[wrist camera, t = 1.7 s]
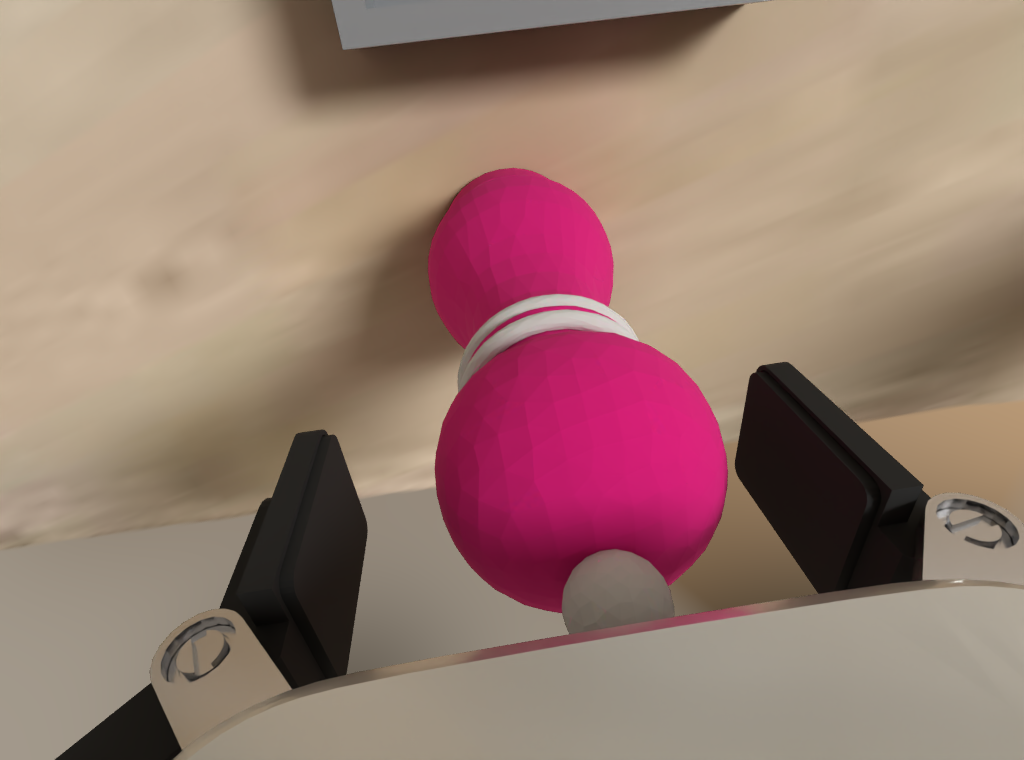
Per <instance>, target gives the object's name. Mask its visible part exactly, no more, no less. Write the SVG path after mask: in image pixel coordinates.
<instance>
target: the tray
mask: <svg viewBox="0 0 1024 760" xmlns="http://www.w3.org/2000/svg"><path fill="white" fill-rule="evenodd" d="M764 1H772V0H332V5H333V9H334V13H335V18H336V22H337V26H338V31H339V35H340V39H341V44H342V48H343V50H348V49H362V48H370V47H379V46H387V45H396V44H405V43H413V42H422V41H431V40H439V39H448V38H456V37H465V36H474V35H482V34H491V33H500V32H508V31H517V30H525V29H534V28H543V27H551V26H560V25H569V24H577V23H586V22H594V21H603V20H612V19H620V18H629V17H638V16H646V15H655V14H663V13H672V12H681V11H689V10H698V9H707V8H715V7H724V6H732V5H741V4H749V3H757V2H764Z"/></svg>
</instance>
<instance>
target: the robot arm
mask: <svg viewBox="0 0 1024 760" xmlns="http://www.w3.org/2000/svg"><path fill="white" fill-rule="evenodd" d="M735 469H736V473H737V475H738V477H739V479H740V480H741V482H742V483H743V485H744V486H745V488H746V489H747V491H748V492H749V494H750V495H751V496H752V498H753V499H754V501H755V502H756V504H757V505H758V507H759V508H760V510H761V511H762V512H763V514H764V515H765V517H766V518H767V520H768V521H769V523H770V524H771V525H772V527H773V528H774V530H775V531H776V533H777V534H778V536H779V537H780V539H781V540H782V541H783V543H784V544H785V546H786V547H787V549H788V550H789V551H790V553H791V554H792V556H793V557H794V559H795V560H796V562H797V563H798V565H799V566H800V568H801V569H802V570H803V572H804V573H805V575H806V576H807V578H808V579H809V581H810V582H811V584H812V585H813V587H814V588H815V589H816V591H817V592H818V594H814V595H808V596H802V597H796V598H789V599H783V600H777V601H771V602H764V603H758V604H752V605H746V606H739V607H733V608H727V609H721V610H714V611H708V612H702V613H696V614H690V615H684V616H678V617H672V618H666V619H660V620H653V621H647V622H641V623H635V624H629V625H623V626H617V627H611V628H605V629H599V630H593V631H587V632H581V633H575V634H569V635H563V636H557V637H551V638H546V639H540V640H535V641H528V642H522V643H516V644H511V645H505V646H499V647H493V648H487V649H481V650H476V651H470V652H464V653H458V654H453V655H447V656H441V657H435V658H430V659H425V660H419V661H414V662H409V663H403V664H398V665H393V666H387V667H382V668H377V669H372V670H366V671H361V672H356V673H352V674H347V675H346V673H347V667H348V660H349V653H350V647H351V641H352V634H353V627H354V620H355V614H356V607H357V600H358V593H359V587H360V581H361V574H362V567H363V561H364V554H365V547H366V541H367V522H366V518H365V515H364V512H363V510H362V507H361V504H360V501H359V498H358V495H357V493H356V490H355V487H354V484H353V481H352V479H351V476H350V473H349V470H348V467H347V465H346V462H345V459H344V456H343V453H342V451H341V448H340V445H339V442H338V439H337V437H336V436H335V435H328V434H327V432H326V431H325V430H316V431H309V432H302V433H298V434H296V436H295V437H294V440H293V443H292V446H291V448H290V451H289V454H288V456H287V459H286V462H285V464H284V467H283V470H282V472H281V475H280V478H279V480H278V483H277V486H276V488H275V491H274V494H273V496H272V498H266V499H265V500H264V501H262V503H261V505H260V507H259V509H258V512H257V514H256V517H255V519H254V522H253V524H252V527H251V529H250V532H249V534H248V537H247V540H246V542H245V545H244V547H243V550H242V552H241V555H240V557H239V560H238V562H237V565H236V568H235V570H234V573H233V575H232V578H231V580H230V583H229V585H228V588H227V590H226V593H225V596H224V598H223V601H222V603H221V606H220V608H219V609H213V610H209V611H206V612H203V613H200V614H198V615H196V616H194V617H192V618H191V619H189V620H187V621H185V622H184V623H182V624H181V625H180V626H179V627H177V628H176V629H175V630H174V631H173V632H171V633H170V634H169V636H168V637H167V638H166V639H165V641H163V643H162V644H161V645H160V646H159V648H158V650H157V652H156V654H155V656H154V657H153V660H152V664H151V668H150V678H151V683H150V684H149V685H148V686H146V687H145V688H144V689H143V690H142V691H140V692H139V693H138V694H136V695H135V696H134V697H133V698H131V699H130V700H129V701H128V702H126V703H125V704H124V705H123V706H121V707H120V708H119V709H118V710H116V711H115V712H114V713H113V714H111V715H110V716H109V717H108V718H106V719H105V720H104V721H103V722H101V723H100V724H99V725H98V726H96V727H95V728H94V729H93V730H91V731H90V732H89V733H88V734H86V735H85V736H84V737H83V738H81V739H80V740H79V741H78V742H76V743H75V744H74V745H73V746H71V747H70V748H69V749H68V750H66V751H65V752H64V753H63V754H61V755H60V756H59V757H58V758H56V759H55V760H1024V524H1023V523H1022V522H1021V521H1020V520H1019V519H1018V518H1017V517H1016V516H1014V515H1013V514H1011V513H1010V512H1009V511H1007V510H1006V509H1004V508H1002V507H1001V506H999V505H997V504H995V503H993V502H991V501H988V500H985V499H982V498H979V497H977V496H973V495H968V494H962V493H943V494H939V495H935V496H934V497H932V498H930V497H929V496H928V495H927V494H926V493H925V492H924V491H923V490H922V488H923V484H922V483H921V482H919V481H918V480H917V479H916V478H915V477H914V476H913V475H912V474H911V473H910V472H909V471H907V470H906V469H905V468H904V467H903V466H902V465H901V464H900V463H899V462H897V460H895V459H894V458H893V457H892V456H891V455H890V454H889V453H888V452H887V451H886V450H884V449H883V448H882V447H881V446H880V445H879V444H878V443H877V442H876V441H875V440H874V439H872V438H871V437H870V436H869V435H868V434H867V433H866V432H865V431H863V429H861V428H860V427H859V426H858V425H857V424H856V423H855V422H854V421H853V420H852V419H850V418H849V417H848V416H847V415H846V414H845V413H844V412H843V411H842V410H841V409H840V408H838V407H837V406H836V405H835V404H834V403H833V402H832V401H831V400H830V399H829V398H827V397H826V396H825V395H824V394H823V393H822V392H821V391H820V390H819V389H818V388H816V387H815V386H814V385H813V384H812V383H811V382H810V381H809V380H808V379H807V378H806V377H804V376H803V375H802V374H801V373H800V372H799V371H798V370H797V369H796V368H795V367H793V366H792V365H791V364H790V363H788V362H782V363H775V364H768V365H762V366H760V367H759V368H758V369H757V371H756V373H753V374H752V375H751V376H750V379H749V384H748V390H747V396H746V401H745V407H744V413H743V419H742V424H741V430H740V436H739V441H738V447H737V453H736V459H735Z"/></svg>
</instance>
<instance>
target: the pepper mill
mask: <svg viewBox="0 0 1024 760" xmlns="http://www.w3.org/2000/svg"><path fill="white" fill-rule="evenodd" d="M428 275H429V282H430V289H431V295H432V300H433V302H434V305H435V307H436V310H437V313H438V315H439V316H440V318H441V320H442V321H443V323H444V325H445V326H446V328H447V329H448V331H449V332H450V334H451V335H452V336H453V337H454V339H455V340H456V341H457V342H458V343H459V344H460V345H461V346H462V347H463V348H464V349H465V352H464V354H463V357H462V360H461V363H460V367H459V372H458V394H457V396H456V397H455V399H454V401H453V403H452V404H451V406H450V408H449V410H448V413H447V415H446V417H445V419H444V421H443V424H442V428H441V433H440V437H439V442H438V447H437V451H436V459H435V478H436V490H437V497H438V500H439V505H440V509H441V512H442V516H443V520H444V522H445V525H446V527H447V529H448V531H449V533H450V536H451V538H452V540H453V542H454V544H455V546H456V547H457V549H458V550H459V552H460V553H461V555H462V556H463V557H464V559H465V560H466V561H467V563H468V564H469V565H470V567H471V568H472V569H473V570H474V571H475V572H476V573H477V574H478V575H479V576H480V577H481V578H482V579H483V580H484V581H486V582H487V583H488V584H489V585H491V586H492V587H493V588H494V589H495V590H497V591H499V592H501V593H503V594H505V595H507V596H509V597H510V598H513V599H514V600H516V601H518V602H520V603H522V604H524V605H527V606H531V607H534V608H538V609H542V610H546V611H552V612H558V613H562V614H563V618H564V621H565V625H566V627H567V630H568V632H569V634H575V633H581V632H587V631H593V630H599V629H605V628H611V627H617V626H623V625H629V624H635V623H641V622H647V621H653V620H660V619H666V618H672V617H674V605H673V600H672V596H671V591H670V589H669V587H668V586H669V585H671V584H672V583H673V582H674V581H675V580H677V579H678V578H679V577H680V576H681V575H682V574H683V573H684V572H685V571H686V570H687V569H689V567H691V566H692V565H693V563H694V562H695V561H696V560H697V559H698V558H699V557H700V555H701V554H702V553H703V552H704V551H705V549H706V547H707V546H708V544H709V542H710V540H711V538H712V536H713V534H714V532H715V530H716V528H717V526H718V523H719V521H720V519H721V516H722V511H723V507H724V502H725V496H726V491H727V478H728V469H727V458H726V453H725V449H724V445H723V441H722V437H721V433H720V429H719V425H718V422H717V420H716V418H715V416H714V414H713V412H712V410H711V408H710V406H709V404H708V402H707V401H706V399H705V397H704V396H703V394H702V392H701V391H700V389H699V387H698V386H697V385H696V383H695V382H694V381H693V380H692V379H691V378H690V377H689V376H688V375H687V374H686V373H685V372H684V370H683V369H682V368H681V367H680V366H679V365H678V364H677V363H676V362H674V361H673V360H671V359H670V358H668V357H667V356H665V355H664V354H662V353H661V352H659V351H658V350H656V349H655V348H653V347H651V346H649V345H647V344H644V343H642V342H639V340H638V338H637V336H636V334H635V333H634V331H633V329H632V328H631V327H630V325H629V324H628V323H627V322H626V320H625V319H624V318H622V317H621V316H620V315H619V314H617V313H616V312H615V311H613V310H612V309H610V308H609V307H608V306H609V303H610V298H611V293H612V287H613V257H612V252H611V246H610V244H609V241H608V238H607V235H606V233H605V231H604V229H603V226H602V224H601V223H600V221H599V219H598V217H597V216H596V214H595V212H594V211H593V210H592V209H591V207H590V206H589V205H588V204H587V203H586V202H585V200H583V199H582V198H581V197H580V196H579V195H577V194H576V193H575V192H574V191H572V190H570V189H569V188H567V187H565V186H563V185H562V184H560V183H557V182H554V181H551V180H549V179H548V178H546V177H544V176H542V175H541V174H538V173H535V172H533V171H529V170H525V169H517V168H509V169H499V170H495V171H492V172H488V173H485V174H483V175H482V176H480V177H478V178H476V179H474V180H473V181H471V182H470V183H469V184H468V185H466V186H465V187H464V188H463V189H462V190H461V191H460V192H459V194H458V195H457V196H456V197H455V199H454V200H453V202H452V204H451V206H450V208H449V210H448V211H447V212H446V214H445V216H444V217H443V219H442V220H441V222H440V223H439V225H438V228H437V230H436V232H435V234H434V237H433V239H432V243H431V247H430V252H429V257H428Z"/></svg>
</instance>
